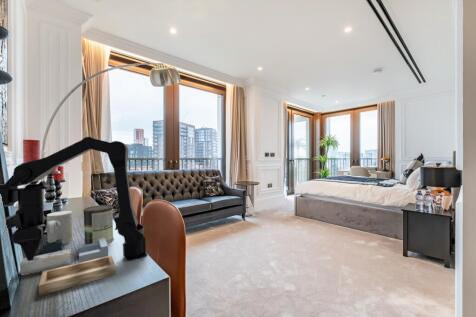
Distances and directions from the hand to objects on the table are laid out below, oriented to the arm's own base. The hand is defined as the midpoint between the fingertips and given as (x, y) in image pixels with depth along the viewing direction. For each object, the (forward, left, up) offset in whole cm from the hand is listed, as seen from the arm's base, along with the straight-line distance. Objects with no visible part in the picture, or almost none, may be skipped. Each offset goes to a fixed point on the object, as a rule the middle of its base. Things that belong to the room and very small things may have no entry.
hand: (32, 255), depth 70 cm
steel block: (-3, 0, -5) cm, 6 cm away
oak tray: (-12, +14, -5) cm, 19 cm away
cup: (-6, -26, -5) cm, 27 cm away
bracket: (-15, 0, -5) cm, 15 cm away
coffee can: (-19, -16, -5) cm, 25 cm away
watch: (-4, -17, -5) cm, 18 cm away
